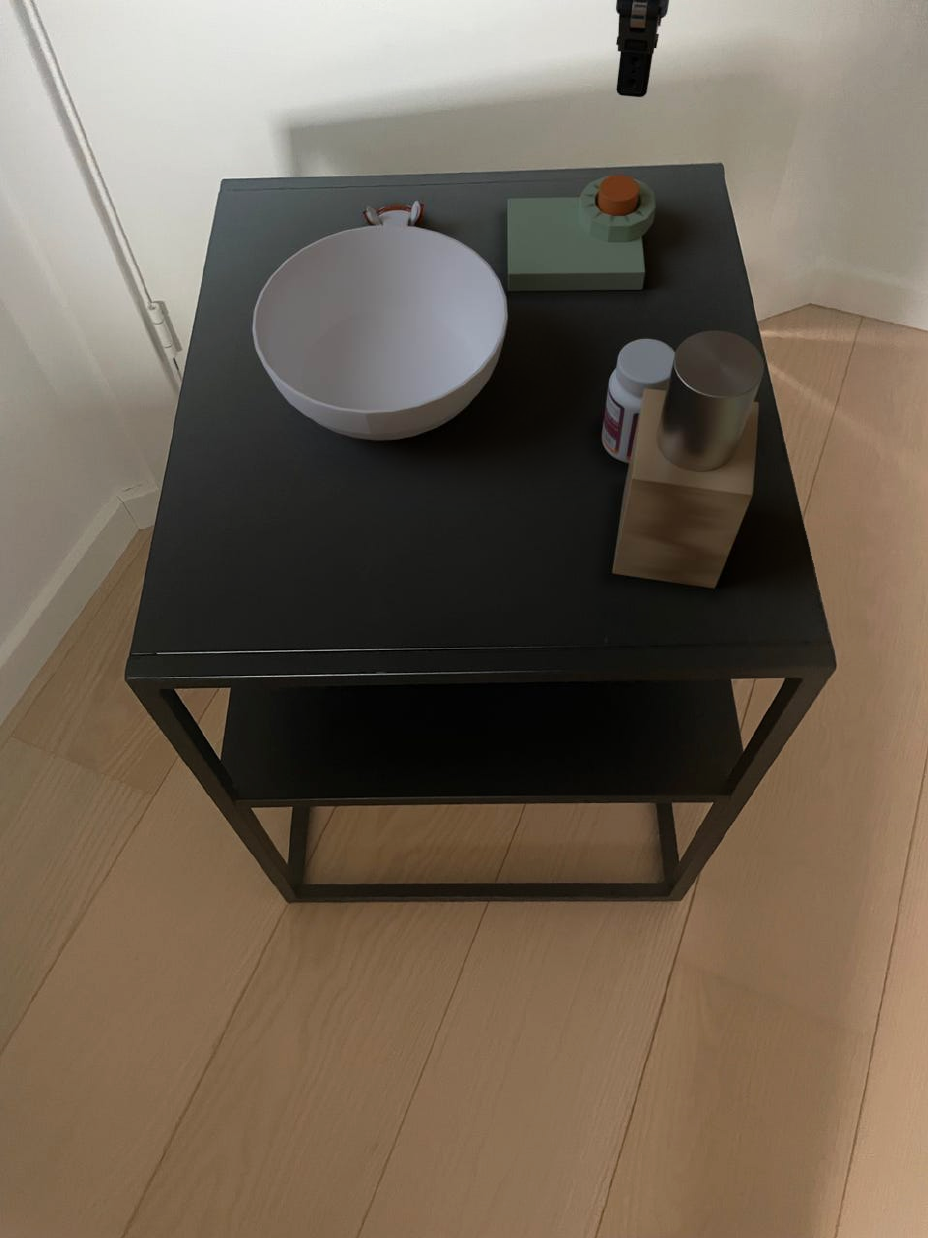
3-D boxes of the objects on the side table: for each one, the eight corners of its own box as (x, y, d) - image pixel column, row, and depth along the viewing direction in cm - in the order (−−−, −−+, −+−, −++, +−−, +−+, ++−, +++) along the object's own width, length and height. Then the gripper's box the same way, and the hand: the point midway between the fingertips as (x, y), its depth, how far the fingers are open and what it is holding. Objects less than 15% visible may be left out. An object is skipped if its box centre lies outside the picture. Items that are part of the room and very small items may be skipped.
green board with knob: (646, 209, 83) (652, 174, 80) (655, 289, 78) (661, 255, 75) (507, 212, 83) (507, 176, 80) (507, 291, 79) (508, 257, 76)
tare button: (635, 190, 79) (638, 173, 78) (638, 216, 78) (640, 200, 76) (596, 190, 79) (598, 174, 78) (598, 217, 78) (600, 201, 77)
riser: (721, 505, 68) (759, 401, 58) (715, 589, 65) (753, 494, 55) (623, 491, 69) (644, 387, 59) (612, 573, 66) (631, 478, 56)
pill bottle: (674, 426, 72) (694, 345, 64) (652, 473, 70) (670, 396, 62) (614, 406, 73) (627, 325, 65) (591, 452, 71) (601, 374, 63)
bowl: (512, 299, 78) (513, 226, 72) (501, 482, 70) (502, 417, 63) (291, 294, 79) (273, 221, 73) (254, 473, 71) (230, 409, 64)
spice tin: (739, 413, 58) (766, 335, 52) (734, 476, 56) (761, 402, 50) (660, 403, 59) (677, 325, 53) (652, 465, 56) (670, 391, 51)
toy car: (426, 209, 84) (424, 177, 81) (427, 274, 80) (425, 243, 77) (367, 212, 84) (362, 180, 81) (365, 277, 80) (360, 246, 77)
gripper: (728, -138, 51) (675, 153, 66) (742, -252, 57) (691, 39, 72) (588, -147, 52) (568, 142, 67) (617, -258, 58) (592, 31, 73)
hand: (632, 88), depth 70 cm, fingers closed
